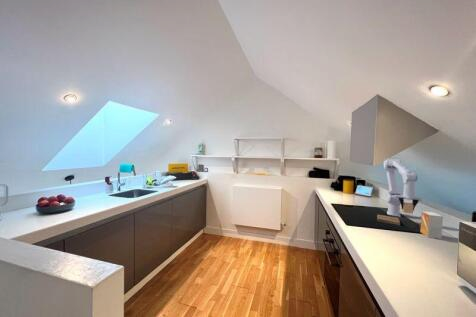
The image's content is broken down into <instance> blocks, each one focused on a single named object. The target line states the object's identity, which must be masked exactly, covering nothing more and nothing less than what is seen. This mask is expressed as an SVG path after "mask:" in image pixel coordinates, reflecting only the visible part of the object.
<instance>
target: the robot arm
mask: <svg viewBox="0 0 476 317" xmlns="http://www.w3.org/2000/svg"><path fill="white" fill-rule="evenodd" d="M384 160H385V159H384ZM384 160H383V169H384V170H385V171H386V177H387V182H388V190H389V191H387V192H385V201H386V202H387V204H388V205H387V211H386V214H387V216H392V217H398V218H401V213H400V212H401V211H400V210H402V209H403V203H404V202H405V200H410V201H411V200H412V201H411V202H412V204H413V212H414V211H415V208H416V206H417V205H418V204H419V202H423V197H417V196H415V188H416V186H415V185H416V182H417V181H418V175H417V173H416V172H412V171H411V170H410V169H409V168H408V167H407V166H403V164H402V161H401V159H399V158H387V160H385V161H384ZM395 171H398V173H399V175H401V176H402V177H401V178H402V182H403V192H401V191H399V190H398V186H397V181H396V175H395Z"/></svg>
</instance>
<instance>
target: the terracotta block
mask: <svg viewBox="0 0 476 317" xmlns="http://www.w3.org/2000/svg"><path fill="white" fill-rule="evenodd" d="M401 210H402V213H408V214H413V213H414V211H413V204H412V203H410V202H405V201H404V203H403V209H402V208H401Z"/></svg>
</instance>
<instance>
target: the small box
mask: <svg viewBox="0 0 476 317" xmlns="http://www.w3.org/2000/svg"><path fill="white" fill-rule="evenodd" d="M443 220H444V216H443V215H440V214H439V213H437V212H434V211H425V210H424V211H423V210H422V211H421V219H420V233H421V234H422V235H424V236H426V237H427V238H431V239H439V240H441V239H442V236H443V234H442V233H443Z"/></svg>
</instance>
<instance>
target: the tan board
mask: <svg viewBox="0 0 476 317" xmlns="http://www.w3.org/2000/svg"><path fill="white" fill-rule="evenodd" d="M376 215H377V216H376V219H377V222H379V223H384V224H389V225H394V224H395V226H401V222H400V219H399V217H397V216H391V215H383V214H376Z"/></svg>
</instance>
